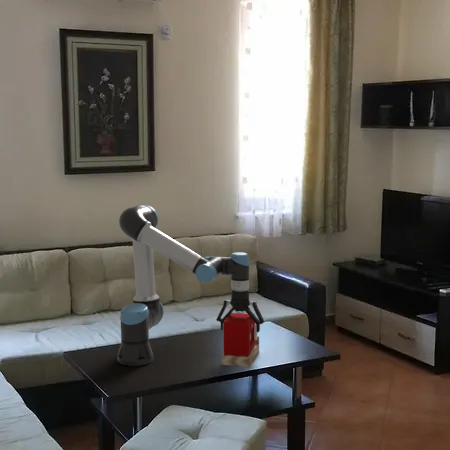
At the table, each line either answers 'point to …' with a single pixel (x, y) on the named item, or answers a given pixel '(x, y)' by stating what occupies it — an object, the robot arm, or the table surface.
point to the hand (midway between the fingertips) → (240, 338)
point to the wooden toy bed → (242, 357)
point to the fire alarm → (238, 334)
